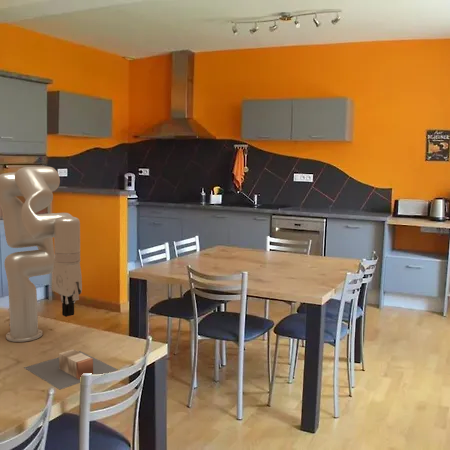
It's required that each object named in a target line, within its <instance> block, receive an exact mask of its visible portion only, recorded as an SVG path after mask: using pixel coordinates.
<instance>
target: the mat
mask: <svg viewBox="0 0 450 450" xmlns="http://www.w3.org/2000/svg"><path fill="white" fill-rule="evenodd" d="M77 351H78V350H77ZM78 352H80V353H82V354H84V355H86V356H88V357H90V358H92V359H93V374H103V373H107V374H110V373H112V372H116V371H118V370H119V369H118V368H116V367H114V366H112V365H110V364H107V362H104V361H102V360H99V359H97V358H95V357H93V356H91V355H89V354H87V353H85V352H83V351H81V350H80V351H78ZM23 368H24V370H27V371H29V372H30V373H32V374H33V375H35V376H36V377H38V378H39V379H41V380H43V381H45V382H46V383H48V384H50V385H51V386H53V387H54V388H56V389H58V390H60V391H61V390H63V389H65V388H69V387H72V386H74V385H78V384H81V383H80V379H77V378H75V377H74V376H72V375H70V374H68V373H66V372H65V371H63V370H61V369H59V356H58V357H55V358H52V359H48V360H45V361H42V362H41V361H40V362H38V363H35V364H31V365H28V366H24V367H23ZM109 372H110V373H109Z"/></svg>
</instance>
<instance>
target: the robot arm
mask: <svg viewBox="0 0 450 450" xmlns="http://www.w3.org/2000/svg"><path fill="white" fill-rule="evenodd" d="M60 182H61V178H60V175H59V172H58V171H57V170H56V169H55V167H52V166H45V165H44V166H23V167H21V168H19V169H17V171H15V172H5V173H1V174H0V209H1V213H2V221H3V227H4V235H5V241H6V243H7V244H6V245H8V247H9V248H12V249H21V248H31V247H33V248H34V247H37V249H34V250H24V251H23V250H22V251H16V252H13V253H10V254H8V255H7V256H5V259H4V262H3V263H4V270H5V274H6V279H7V289H8V305H9V306H8V310H9V311H8V312H9V328H10V329H9V331H8V332H7V333H6V334H5V338H6V340H8V341H9V342H13V343H23V342H30V341H35V340H37V339H39V338H41V337H42V336H43V330H42V329H39V325H38V324H39V323H38V322H39V320H38V297H37V295H38V294H37V287H36V286H35V284H34V282H32V281H31V280H30V278H33V277H38V276H46V275H51V274H52V290H53V292H55V293H57V294H58V295H59V296H60V301H61V308H62V309H61V310H62V311H61V314H62V316H63V317H71V316H74V315H75V303H76V301H79V300H80V295H82V292H83V291H82V290H83V283H82V282H83V281H82V279H83V277H82V269H81V222H80V219H79V218H78V217H75V216H73V215H72V214H70V213H69V212H57V213H56V212H54V213H53V212H51V213H40V214H39V212H40V211H43V210H44V209H46V208H48V207H49V206H50V205H51V204H52V201H53V199H54V194H53V192H55V191H56V190H57V189H58V188H59V187H60ZM19 197H23V198H24V200H25V201H24V202H23V201H22V200H21V199H20V198H19ZM53 238H54V239H53ZM53 240H54V241H53Z"/></svg>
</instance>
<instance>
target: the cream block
mask: <svg viewBox="0 0 450 450" xmlns="http://www.w3.org/2000/svg"><path fill="white" fill-rule="evenodd" d="M58 357H59V369H61V370H63V371H65V372H66V373H68V374H70V375H72V376H74V377H75V378H77V379H80V377H81V375H82V374H83V373H92V374H93V359H92V358H90V357H88V356H86V355H84V354H82V353H80V352H78V350H76V349H73V348H72V349H69V350H66V351H63V352H59V353H58Z"/></svg>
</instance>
